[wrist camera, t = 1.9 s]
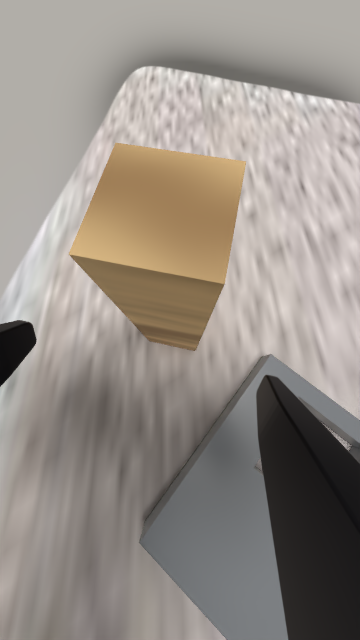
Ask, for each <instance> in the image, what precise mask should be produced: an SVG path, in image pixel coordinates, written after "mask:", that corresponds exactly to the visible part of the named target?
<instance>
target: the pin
mask: <svg viewBox="0 0 360 640" xmlns="http://www.w3.org/2000/svg"><path fill="white" fill-rule="evenodd" d="M245 165H246V162H245V161H238V160H231V159H225V158H218V157H211V156H204V155H197V154H190V153H183V152H176V151H169V150H162V149H155V148H148V147H142V146H135V145H128V144H121V143H115V145H114V148H113V150H112V153H111V155H110V157H109V160H108V162H107V164H106V167H105V169H104V172H103V174H102V176H101V179H100V181H99V183H98V186H97V188H96V191H95V193H94V195H93V198H92V200H91V202H90V205H89V207H88V210H87V212H86V214H85V217H84V219H83V221H82V224H81V226H80V229H79V231H78V233H77V236H76V238H75V240H74V243H73V245H72V248H71V250H70V252H69V255H70V256H71V257H72V258H73V259H74V260H75V262H76V263H77V264H78V265H79V266H80V267H81V268H82V269H83V270H84V271H85V272H86V273H87V274H88V276H89V277H90V278H91V279H92V280H93V281H94V282H95V283H96V284H97V285H98V286H99V287H100V288H101V289H102V291H103V292H104V293H105V294H106V295H107V296H108V297H109V298H110V299H111V300H112V301H113V302H114V303H115V305H116V306H117V307H118V308H119V309H120V310H121V311H122V312H123V313H124V314H125V315H126V316H127V317H128V319H129V320H130V321H131V322H132V323H133V324H134V325H135V326H136V327H137V328H138V329H139V330H140V331H141V332H142V334H143V335H144V336H145V337H146V338H147V339H148V340H149V341H152V342H156V343H161V344H165V345H170V346H175V347H179V348H184V349H188V350H193V351H195V350H196V348H197V346H198V343H199V341H200V339H201V337H202V334H203V332H204V330H205V327H206V325H207V323H208V321H209V318H210V316H211V314H212V311H213V309H214V307H215V305H216V302H217V300H218V298H219V295H220V293H221V291H222V289H223V286H224V284H225V278H226V273H227V267H228V261H229V256H230V250H231V244H232V239H233V233H234V228H235V222H236V216H237V211H238V205H239V199H240V194H241V188H242V182H243V177H244V171H245Z"/></svg>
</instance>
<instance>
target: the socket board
mask: <svg viewBox="0 0 360 640" xmlns="http://www.w3.org/2000/svg"><path fill="white" fill-rule="evenodd" d="M265 375H272V376H276V377H278V378H279V379H280V380H281V381H282V382H283V383H284V384H285V385H286V386H287V387H288V388H289V389H290V390H291V391H292V392H293V394H294V395H295V396H296V397H297V398H298V399H299V400H300V401H301V402H302V403H303V404H304V405H305V406H306V407H307V408H308V409H309V410H310V411H311V412H312V414H313V415H314V416H315V417H316V418H317V419H319V420H320V421H321V422H322V423H324V424H325V425H326V426H328V427H329V428H330V429H331V430H333V431H334V432H335V433H337V434H338V435H339V436H340V437H342V438H343V439H344V440H346V441H347V442H348V443H349V444H351V445H352V448H351V450H350V451H349V452H350V454H351V455H352V456H353V457H354V458H355V459H356V460H357V461H358V462H359V463H360V420H358V419H357V418H356V417H354V416H353V415H352V414H350V413H349V412H348V411H346V410H345V409H344V408H342V407H341V406H340V405H338V404H337V403H336V402H334V401H333V400H332V399H330V398H329V397H328V396H326V395H325V394H324V393H322V392H321V391H320V390H318V389H317V388H316V387H314V386H313V385H312V384H310V383H309V382H308V381H306V380H305V379H304V378H302V377H301V376H300V375H298V374H297V373H296V372H294V371H293V370H292V369H290V368H289V367H288V366H286V365H285V364H284V363H282V362H281V361H280V360H278V359H277V358H275V357H274V356H273V355H271V354H270V355H266V356H263V357H261V359H260V360H259V362H258V363H257V364H256V366H255V367H254V369H253V370H252V371H251V373H250V374H249V376H248V377H247V379H246V380H245V381H244V383H243V384H242V386H241V387H240V388H239V390H238V391H237V393H236V394H235V395H234V397H233V398H232V400H231V401H230V403H229V404H228V405H227V407H226V408H225V410H224V411H223V412H222V414H221V415H220V417H219V418H218V419H217V421H216V422H215V424H214V425H213V427H212V428H211V429H210V431H209V432H208V434H207V435H206V436H205V438H204V439H203V441H202V442H201V443H200V445H199V446H198V448H197V449H196V450H195V452H194V453H193V455H192V456H191V458H190V459H189V460H188V462H187V463H186V465H185V466H184V467H183V469H182V470H181V472H180V473H179V474H178V476H177V477H176V479H175V480H174V482H173V483H172V484H171V486H170V487H169V489H168V490H167V491H166V493H165V494H164V496H163V497H162V498H161V500H160V501H159V503H158V504H157V506H156V507H155V508H154V510H153V511H152V513H151V514H150V515H149V517H148V518H147V520H146V521H145V523H144V527H143V531H142V534H141V538H140V542H139V543H140V544H141V545H142V546H143V547H144V549H145V550H146V551H147V552H148V553H149V554H150V555H151V556H152V557H153V559H154V560H155V561H156V562H157V563H158V564H159V565H160V566H161V567H162V568H163V570H164V571H165V572H166V573H167V574H168V575H169V576H170V577H171V578H172V580H173V581H174V582H175V583H176V584H177V585H178V586H179V587H180V588H181V589H182V591H183V592H184V593H185V594H186V595H187V596H188V597H189V598H190V599H191V601H192V602H193V603H194V604H195V605H196V606H197V607H198V608H199V609H200V610H201V612H202V613H203V614H204V615H205V616H206V617H207V618H208V619H209V620H210V621H211V623H212V624H213V625H214V626H215V627H216V628H217V629H218V630H219V631H220V633H221V634H222V635H223V636H224V637H225V638H226V639H227V640H288V635H287V628H286V622H285V615H284V609H283V602H282V595H281V589H280V582H279V575H278V569H277V562H276V556H275V549H274V542H273V536H272V529H271V522H270V516H269V509H268V502H267V496H266V489H265V483H264V476H263V472H262V471H261V470H260V469H258V468H257V467H256V466H255V465H256V463H257V462H258V460H259V459H260V457H261V456H260V449H259V442H258V430H257V405H256V393H257V389H258V387H259V385H260V383H261V381H262V379H263V377H264V376H265Z"/></svg>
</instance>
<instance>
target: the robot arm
mask: <svg viewBox="0 0 360 640" xmlns="http://www.w3.org/2000/svg"><path fill="white" fill-rule="evenodd" d="M35 344H36V336H35V332H34V328H33V325H32V324H31V323H30V322H27V321H22V320H17V321H13V322H8V323H4V324H0V386H1V385H2V384H3V383H4V382H5V381H6V380H7V379H8V378H9V377H10V376H11V374H12V373H13V372H14V371H15V370H16V368H17V367H18V366H19V365H20V363H21V362H22V361H23V360H24V358H25V357H26V356H27V355H28V353H29V352H30V351H31V350H32V348H33V347H34V346H35ZM256 405H257V430H258V442H259V449H260V456H261V463H262V469H263V476H264V483H265V489H266V496H267V502H268V509H269V516H270V522H271V529H272V536H273V542H274V549H275V556H276V562H277V569H278V575H279V582H280V589H281V595H282V602H283V609H284V615H285V622H286V628H287V635H288V640H360V463H359V462H358V461H357V460H356V459H355V458H354V457H353V456H352V455H351V454H350V452H349V451H348V450H347V449H346V448H345V447H344V446H343V445H342V444H341V443H340V442H339V441H338V440H337V439H336V438H335V437H334V436H333V435H332V434H331V432H330V431H329V430H328V429H327V428H326V427H325V426H324V425H323V424H322V423H321V422H320V421H319V420H318V419H317V418H316V417H315V416H314V415H313V414H312V412H311V411H310V410H309V409H308V408H307V407H306V406H305V405H304V404H303V403H302V402H301V401H300V400H299V399H298V398H297V397H296V396H295V395H294V394H293V392H292V391H291V390H290V389H289V388H288V387H287V386H286V385H285V384H284V383H283V382H282V381H281V380H280V379H279V378H278V377H276V376H272V375H265V376H264V377H263V379H262V381H261V383H260V385H259V387H258V389H257V393H256Z"/></svg>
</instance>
